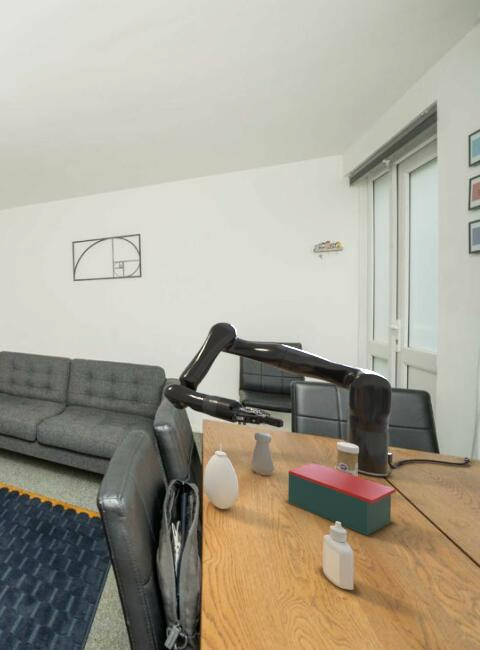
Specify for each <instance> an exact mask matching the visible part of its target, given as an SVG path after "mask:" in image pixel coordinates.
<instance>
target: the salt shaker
mask: <svg viewBox="0 0 480 650" xmlns="http://www.w3.org/2000/svg"><path fill="white" fill-rule="evenodd" d="M254 440H255V445H254V450H253V455H252V458H251V466H252V468H253V470H254V472H255V473H256V474H259V475H261V476H270V475H271V474H272V473H273V472H274V470H275V465H274V461H273V456H272V451H271V447H270V446H271V445H270V443H271V442H272V436H271V435H270V434H268V433H266V432H255V433H254Z"/></svg>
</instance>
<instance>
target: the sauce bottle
mask: <svg viewBox="0 0 480 650" xmlns="http://www.w3.org/2000/svg"><path fill="white" fill-rule="evenodd" d="M203 488H204V492H205V495H206V496H207V498H208V500H209V502H210V503H212V505H213V506H214V507H216V508H217V509H220V510H226V509H229V508H232V507H233V506H234V505H235V503H236V502H237V500H238V497H239V480H238V476H237V473H236V470H235V468H234V466H233V464H232V462H231V460H230V459H229V458H228V456H227V453H226V452H224V451H223V445H222V442H220V443H219V450H216V451H214V454H213V455H212V456H211V457H210V458H209V460H208V462H207V464H206V466H205V469H204V473H203Z"/></svg>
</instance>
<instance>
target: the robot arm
mask: <svg viewBox="0 0 480 650" xmlns="http://www.w3.org/2000/svg"><path fill="white" fill-rule="evenodd" d="M221 352H222V353H225V354H229V355H234V356H237V357H242V358H244V359H248V360H251V361H253V362H257V363H260V364H262V365H266V366H268V367H272V368H274V369H277V370H279V371H282V372H285V373H288V374H292V375H295V376H300V377H305V378H309V379H314V380H315V379H316V380H319V381H323V382H327V383H330V384H333V385H335V386H338V387H341V388H343V389H344V390H347V391H348V392H349V393H348V406H347V409H346V442H347V443H351V444H354V445H357V446H358V447H359V453H358V474H359V473H360V474H363V475H367V476H372V477H379V478H383V477H384V478H385V477H388V476H389V467H390V468H392V469H396V468H399V467H400V466H401V465H402V464H403V463H410V462H411V463H413V462H427V463H437V464H443V465H451V466H466V465H468V464H469V461H470V459H469V458H468V457H464V461H463V462H451V461H443V460H437V459H425V458H411V459H403V460H399V461H398V462H397V463H396V464H395V465H393V464H392V463H393V453H392V452H389V424H390V423H389V422H390V416H391V414H392V400H393V390H392V385H391V383H390V381H389V380H388V379H387V378H385V376H383V375H381V374H379V373H377V372H375V371H373V370H368V369H363V368H359V367H355V366H351V365H346V364H342V363H338V362H334V361H332V360H329V359H327V358H323V357H321V356H318V355H316V354H313V353H310V352H308V351H305V350H303V349H299V348H295V347H293V346H289V345H286V344H282V343H276V342H275V343H273V342H272V343H271V342H254V341H249V340H246V339H244V338H243V339H242V338H240V337H238V332H237V328H236V327H234V325H232V324H230V323H229V322H224V321H223V322H221V321H220V322H217V323H215V324H213V325H212V326H211V327H210V328H209V330H208V333H207V336H206V339H205V340H204V342H203V344H202V345H201V347H200V348H199V350H198V351H197V352H196V354H195V355H194V357H193V358H192V359H191V360H190V362H189V363H188V364H187V365H186V367H184V369H183V371H182V372H181V374H180V375H179V377H178V380H179V383H169V384H167V385H166V386H165V387H164V389H163V395H164V397H165V398H166V400H168V403H170V404H171V406H173V408H175V409H176V410H185V409H187V408H190V409H191V411H195V412H198V413H200V414H204V415H207V416H210V417H211V418H215V419H218V420H222V421H225V422H229V423H233V424H235V423H242V424H250V425H257V426H258V425H259V426H260V425H268V426H272V427H275V428H283V427H284V420H283V419H281V418H278V417H273V416H271V413H269V412H267V411H266V410H263V409H262V408H257V409H256V410H255V409H253V408H252V407H249V406H248V407H247V406H245V407H243V405H242V403H241V402H240V400H236V399H233V398H228V397H223V396H219V395H213V394H208V393H204V392H200V391H198V387H199V386H200V384H201V383H202V382H203V381H204V379H205V378H206V376H207V375H208V373H209V371H210V370H211V368H212V366H213V365H214V363H215V361H216V359H217V358H218V356H219V355H220V354H221ZM465 459H468V460H469V461H468V460H465Z"/></svg>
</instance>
